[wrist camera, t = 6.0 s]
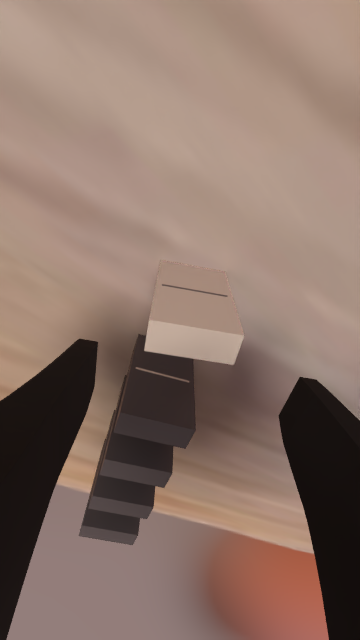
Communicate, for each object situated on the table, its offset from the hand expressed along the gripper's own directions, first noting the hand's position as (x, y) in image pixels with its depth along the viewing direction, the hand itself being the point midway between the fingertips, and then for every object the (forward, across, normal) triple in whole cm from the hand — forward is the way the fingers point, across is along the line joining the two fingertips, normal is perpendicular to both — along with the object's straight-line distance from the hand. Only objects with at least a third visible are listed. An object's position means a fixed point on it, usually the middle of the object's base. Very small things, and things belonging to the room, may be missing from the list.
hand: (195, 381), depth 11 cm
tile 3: (+9, +2, +14) cm, 17 cm away
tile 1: (+9, +1, +6) cm, 11 cm away
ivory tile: (+9, 0, 0) cm, 9 cm away
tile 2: (+9, +1, +10) cm, 14 cm away
